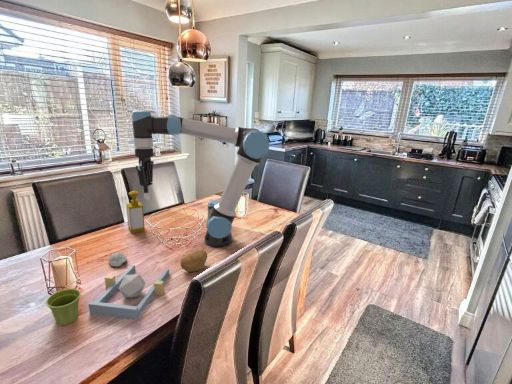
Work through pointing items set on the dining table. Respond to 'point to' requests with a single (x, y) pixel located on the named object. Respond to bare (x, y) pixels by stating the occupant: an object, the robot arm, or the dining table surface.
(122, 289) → the faceted grey rock
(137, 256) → the dining table surface
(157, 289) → the beam track
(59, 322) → the plant pot
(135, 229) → the soap bottle
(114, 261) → the grey stone
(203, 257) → the potato
